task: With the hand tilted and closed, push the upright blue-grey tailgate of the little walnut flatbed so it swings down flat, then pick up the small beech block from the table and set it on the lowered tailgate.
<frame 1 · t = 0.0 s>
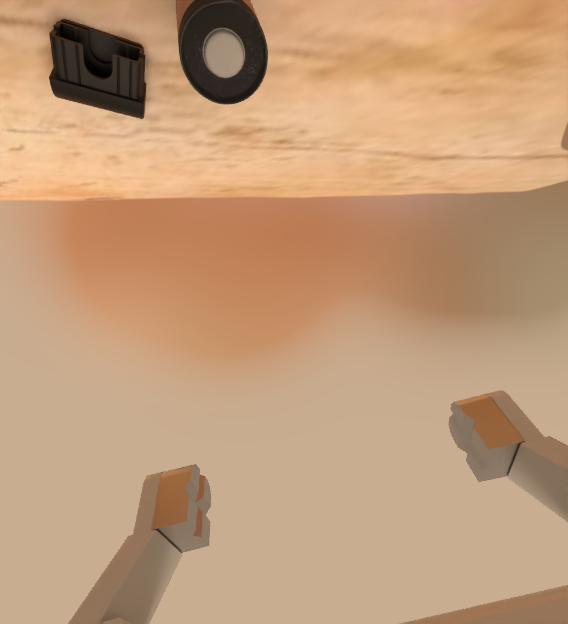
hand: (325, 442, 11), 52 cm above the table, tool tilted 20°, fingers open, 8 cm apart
end cap: (104, 63, 44), on the table
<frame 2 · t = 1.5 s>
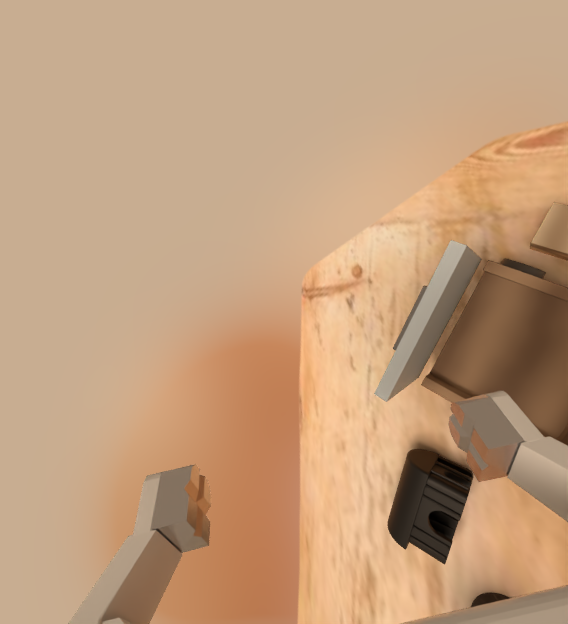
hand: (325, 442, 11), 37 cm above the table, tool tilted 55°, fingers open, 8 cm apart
beech block: (561, 237, 36), on the table
travel mug: (505, 623, 40), on the table
end cap: (434, 487, 44), on the table
flatbed: (525, 348, 38), on the table
tailgate: (428, 320, 32), point 12 cm above the table, hinge at 0.0°
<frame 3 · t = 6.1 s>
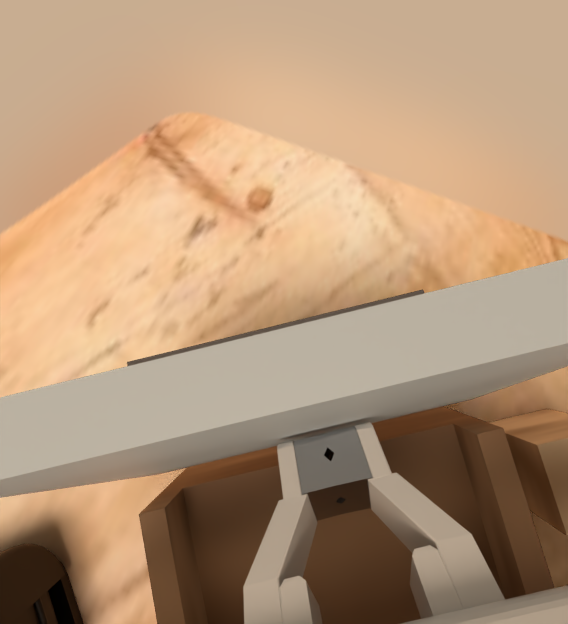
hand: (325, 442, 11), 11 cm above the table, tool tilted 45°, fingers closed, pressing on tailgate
beech block: (524, 449, 21), on the table
end cap: (4, 606, 21), on the table
flatbed: (339, 538, 20), on the table
tailgate: (298, 399, 10), point 12 cm above the table, hinge at 14.9°, touching gripper
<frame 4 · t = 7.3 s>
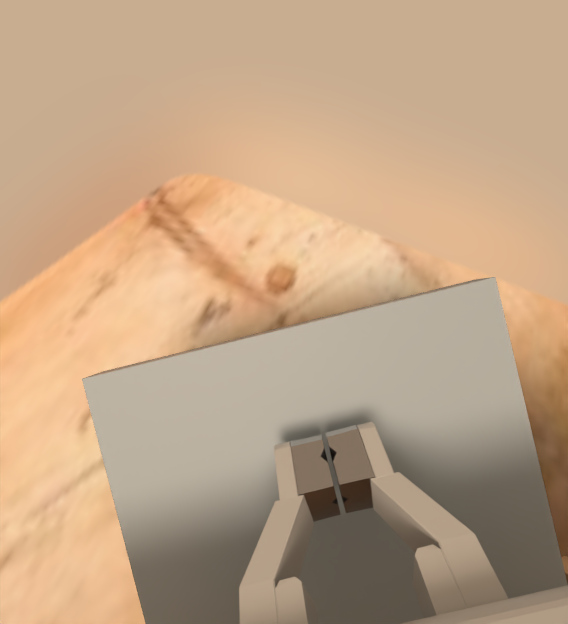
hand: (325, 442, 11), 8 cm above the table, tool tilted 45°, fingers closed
tailgate: (323, 475, 12), point 6 cm above the table, hinge at 81.1°
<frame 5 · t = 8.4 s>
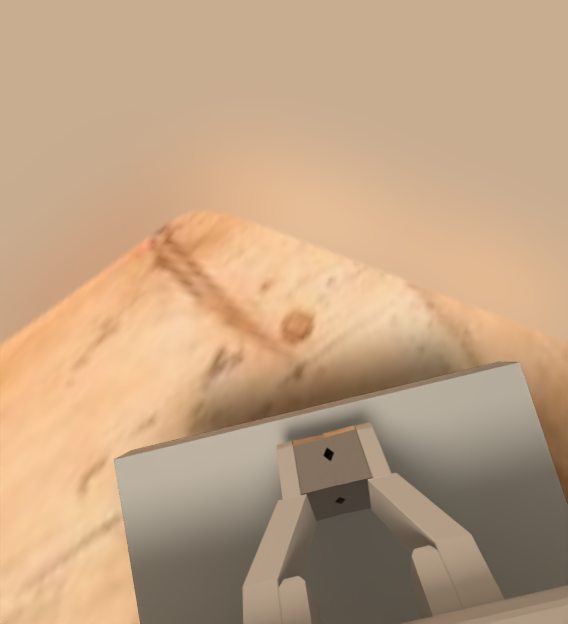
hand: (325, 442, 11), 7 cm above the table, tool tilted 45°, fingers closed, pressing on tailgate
tailgate: (353, 570, 12), point 6 cm above the table, hinge at 90.1°, touching gripper
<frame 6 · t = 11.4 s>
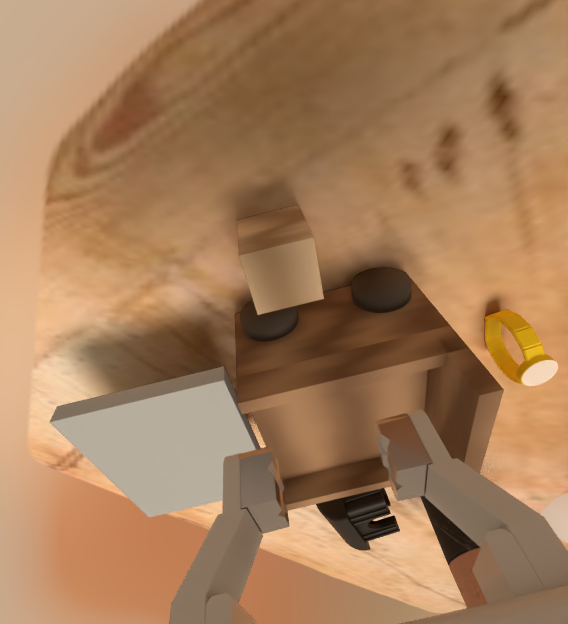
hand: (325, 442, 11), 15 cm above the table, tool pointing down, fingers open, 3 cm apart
beech block: (274, 240, 23), on the table
travel mug: (443, 484, 48), on the table
end cap: (346, 473, 43), on the table
watch: (490, 324, 31), on the table
flatbed: (330, 357, 30), on the table
tailgate: (181, 449, 26), point 6 cm above the table, hinge at 90.1°
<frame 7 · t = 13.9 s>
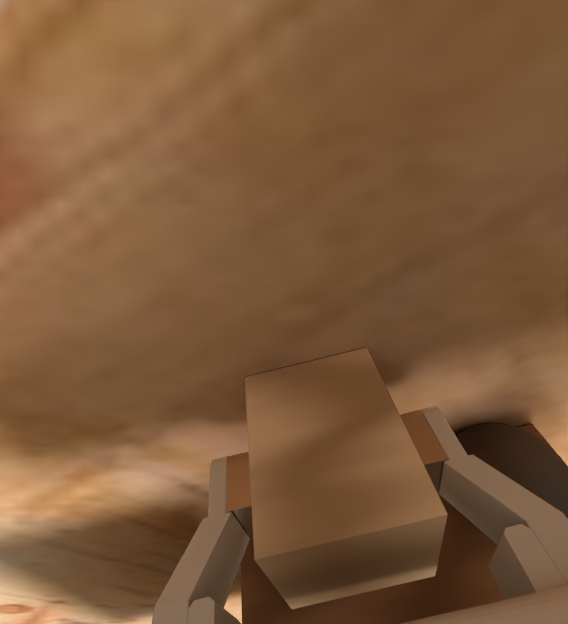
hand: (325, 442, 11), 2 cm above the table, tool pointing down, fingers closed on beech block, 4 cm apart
beech block: (314, 401, 12), on the table, touching gripper
flatbed: (387, 523, 19), on the table
when the fingers open (11 cm above the table, at t = 18.2 s): beech block drops 2 cm, resting on tailgate.
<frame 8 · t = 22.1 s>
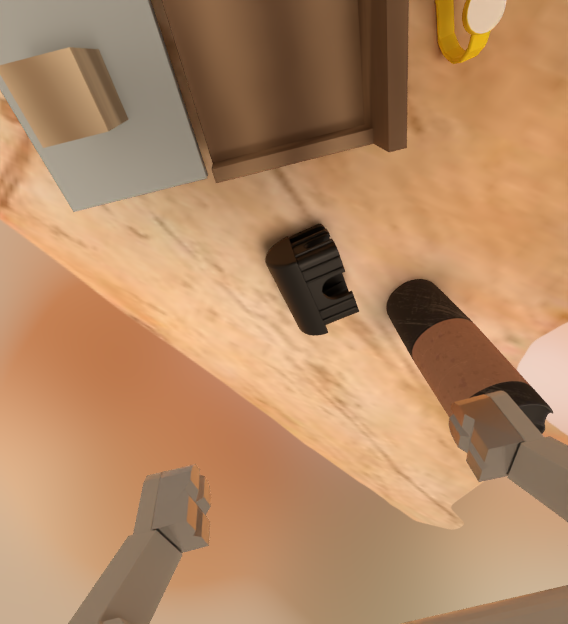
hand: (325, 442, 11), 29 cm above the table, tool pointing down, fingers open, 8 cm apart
beech block: (85, 93, 23), point 6 cm above the table, touching tailgate
travel mug: (411, 301, 46), on the table
end cap: (306, 266, 41), on the table
watch: (443, 18, 29), on the table
flatbed: (270, 47, 28), on the table
tailgate: (96, 92, 24), point 6 cm above the table, hinge at 90.2°, touching beech block
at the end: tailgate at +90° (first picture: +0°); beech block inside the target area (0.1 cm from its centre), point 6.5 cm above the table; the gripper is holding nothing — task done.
